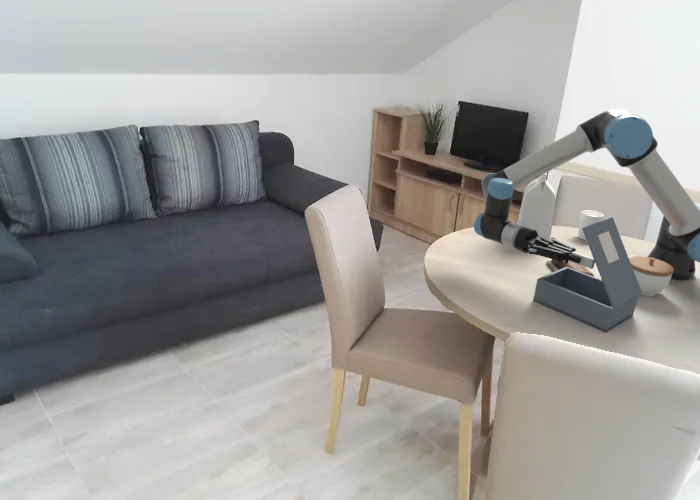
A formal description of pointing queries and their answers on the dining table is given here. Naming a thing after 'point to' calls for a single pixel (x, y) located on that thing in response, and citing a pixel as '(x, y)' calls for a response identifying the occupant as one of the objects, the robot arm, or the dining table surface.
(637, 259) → the lidded bowl
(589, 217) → the white cup
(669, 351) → the dining table surface
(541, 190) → the milk
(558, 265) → the packaged product
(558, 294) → the mailer box
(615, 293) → the lid
